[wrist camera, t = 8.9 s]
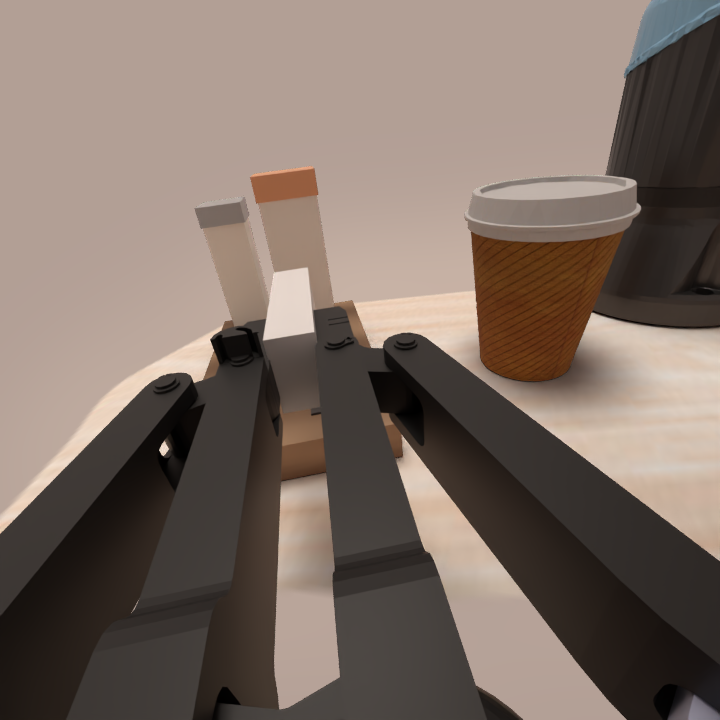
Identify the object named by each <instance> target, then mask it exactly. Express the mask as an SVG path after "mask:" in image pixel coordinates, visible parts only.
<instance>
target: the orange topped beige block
mask: <svg viewBox="0 0 720 720" xmlns="http://www.w3.org/2000/svg"><path fill="white" fill-rule="evenodd" d="M250 179H251V182H252V187H253V191H254V195H255V199H256V203H258V205H259V209H260V213H261V218H262V222H263V226H264V230H265V234H266V239H267V243H268V247H269V251H270V255H271V260H272V264H273V268H274V272H281V271H287V270H294V269H300V268H307V267H308V272H309V277H310V282H311V288H312V293H313V299H314V304H315V309H316V310H318V309H324V308H330V307H334V301H333V295H332V288H331V282H330V276H329V269H328V263H327V257H326V250H325V244H324V237H323V231H322V225H321V219H320V212H319V207H318V200H317V195H318V190H317V183H316V177H315V170H314V168H313V167H312V166H310V167H302V168H295V169H287V170H279V171H272V172H265V173H257V174H253V175H252V176H251V177H250Z"/></svg>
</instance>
